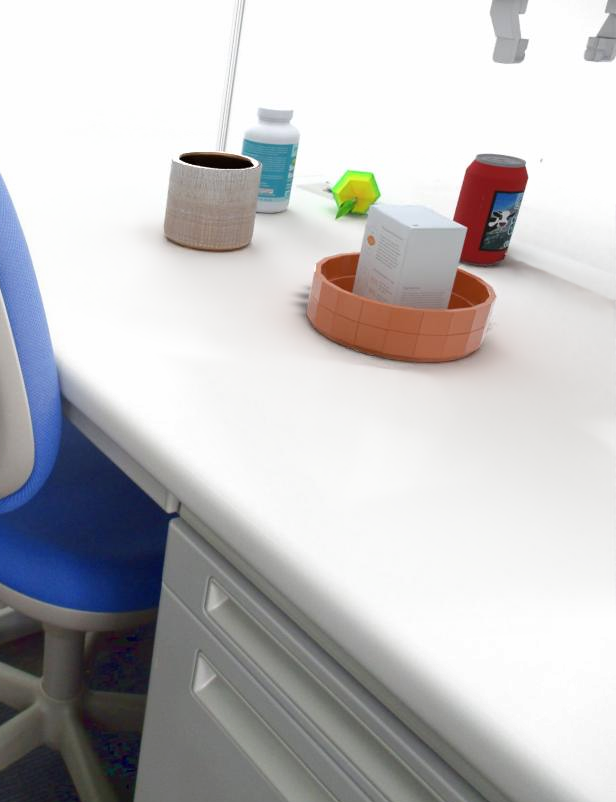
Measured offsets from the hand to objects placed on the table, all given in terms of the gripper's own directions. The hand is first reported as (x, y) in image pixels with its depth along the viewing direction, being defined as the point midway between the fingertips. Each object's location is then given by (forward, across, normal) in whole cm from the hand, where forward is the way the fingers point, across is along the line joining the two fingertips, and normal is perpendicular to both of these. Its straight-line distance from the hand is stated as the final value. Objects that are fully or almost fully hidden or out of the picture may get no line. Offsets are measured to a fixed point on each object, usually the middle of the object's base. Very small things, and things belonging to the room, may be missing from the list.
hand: (553, 62), depth 69 cm
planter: (+24, -9, +36) cm, 45 cm away
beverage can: (+25, +20, +23) cm, 39 cm away
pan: (+25, -5, +6) cm, 26 cm away
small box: (+24, -5, +6) cm, 26 cm away
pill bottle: (+24, +6, +49) cm, 55 cm away
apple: (+25, +17, +43) cm, 52 cm away
